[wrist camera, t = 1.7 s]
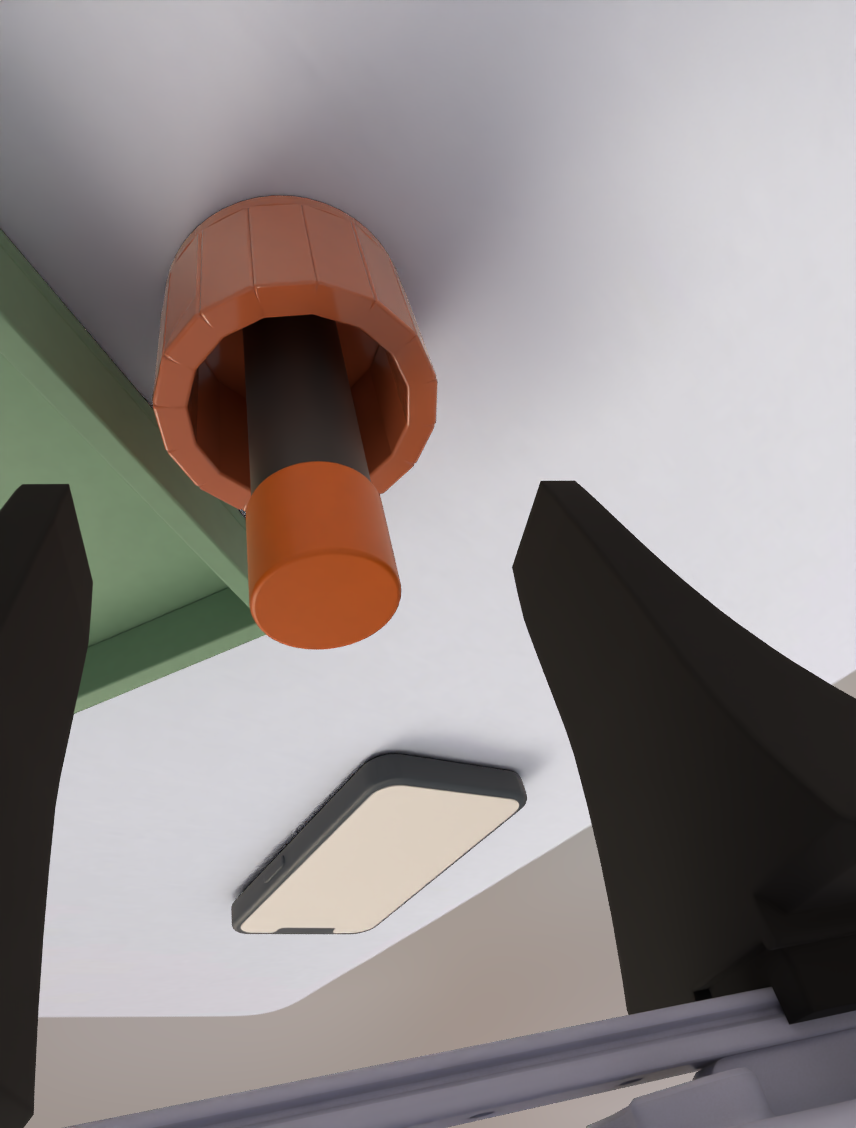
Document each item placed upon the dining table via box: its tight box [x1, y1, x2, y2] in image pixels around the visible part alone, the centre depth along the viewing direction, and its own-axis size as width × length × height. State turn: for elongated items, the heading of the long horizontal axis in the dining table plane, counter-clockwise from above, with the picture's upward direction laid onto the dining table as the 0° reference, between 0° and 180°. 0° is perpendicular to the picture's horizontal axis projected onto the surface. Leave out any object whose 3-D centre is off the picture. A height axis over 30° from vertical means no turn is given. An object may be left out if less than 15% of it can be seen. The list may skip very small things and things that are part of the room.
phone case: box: [231, 754, 527, 934], centre depth 37 cm, size 9×2×16 cm
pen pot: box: [152, 196, 438, 512], centre depth 15 cm, size 5×5×4 cm
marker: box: [243, 314, 401, 649], centre depth 13 cm, size 2×2×8 cm
